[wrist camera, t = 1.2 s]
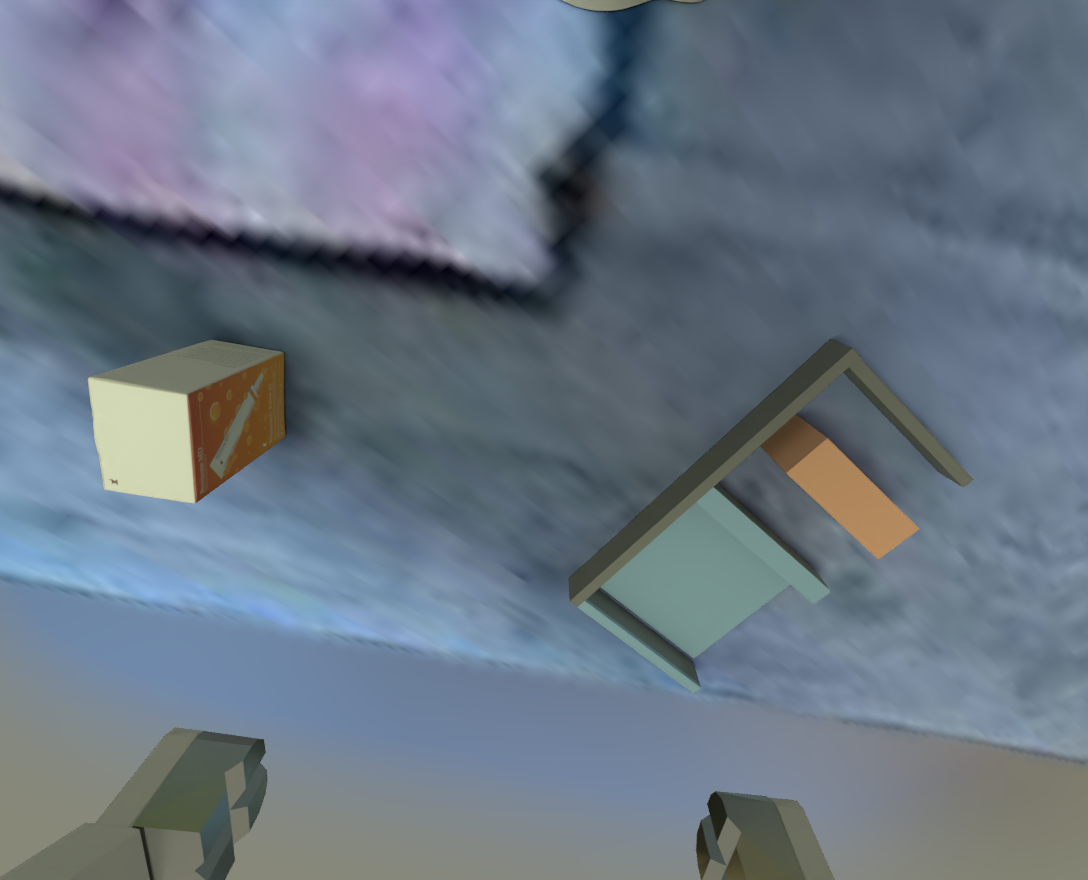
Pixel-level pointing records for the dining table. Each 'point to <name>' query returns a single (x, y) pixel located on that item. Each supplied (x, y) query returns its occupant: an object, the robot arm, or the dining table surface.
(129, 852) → the robot arm
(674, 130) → the dining table surface
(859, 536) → the long orange rectangular block
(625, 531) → the gate frame with panel
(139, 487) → the small box
